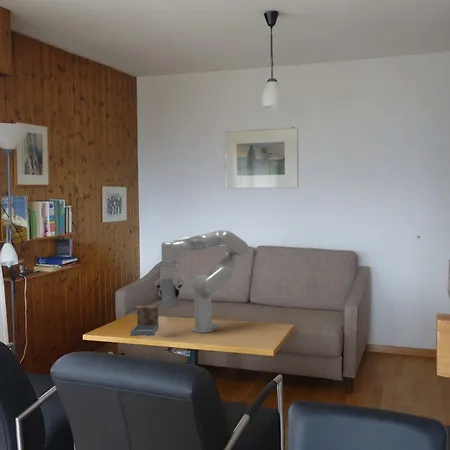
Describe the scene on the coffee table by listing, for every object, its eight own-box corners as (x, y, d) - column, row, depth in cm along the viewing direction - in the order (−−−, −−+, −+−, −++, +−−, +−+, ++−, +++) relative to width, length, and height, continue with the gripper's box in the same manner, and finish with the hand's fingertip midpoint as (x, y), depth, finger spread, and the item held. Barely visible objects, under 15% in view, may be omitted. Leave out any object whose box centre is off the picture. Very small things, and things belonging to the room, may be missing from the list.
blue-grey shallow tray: (157, 329, 314) (157, 325, 314) (153, 335, 300) (153, 331, 300) (136, 329, 315) (135, 325, 315) (130, 335, 301) (130, 331, 301)
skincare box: (172, 308, 294) (171, 278, 293) (160, 307, 296) (159, 278, 296) (179, 305, 302) (178, 276, 301) (167, 304, 304) (166, 276, 303)
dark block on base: (158, 328, 318) (157, 305, 318) (157, 329, 314) (156, 307, 313) (138, 328, 319) (137, 305, 318) (136, 330, 314) (135, 307, 314)
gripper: (185, 263, 301) (186, 295, 302) (154, 264, 302) (155, 295, 303) (183, 265, 294) (184, 297, 294) (151, 265, 295) (152, 298, 296)
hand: (169, 296), depth 299 cm, fingers closed on skincare box, 7 cm apart
